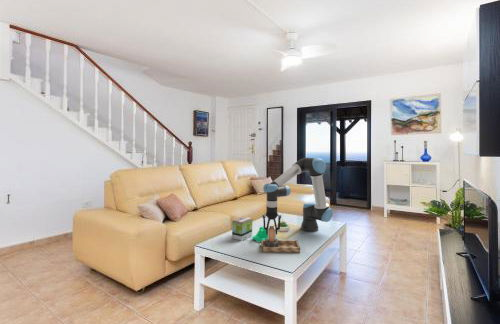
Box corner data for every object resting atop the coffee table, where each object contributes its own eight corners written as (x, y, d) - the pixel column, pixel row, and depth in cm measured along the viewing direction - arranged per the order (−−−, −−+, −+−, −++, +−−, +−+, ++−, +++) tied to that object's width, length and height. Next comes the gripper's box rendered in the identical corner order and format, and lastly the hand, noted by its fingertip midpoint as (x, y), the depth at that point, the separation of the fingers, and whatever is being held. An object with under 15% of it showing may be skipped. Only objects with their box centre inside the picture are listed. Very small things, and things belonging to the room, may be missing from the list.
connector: (274, 244, 186) (274, 225, 185) (274, 246, 182) (274, 227, 181) (268, 244, 186) (268, 225, 185) (268, 246, 182) (269, 227, 181)
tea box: (242, 241, 199) (242, 222, 198) (231, 238, 204) (231, 220, 203) (252, 235, 211) (252, 217, 211) (242, 233, 217) (242, 215, 216)
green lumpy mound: (251, 240, 201) (252, 227, 200) (257, 237, 207) (257, 224, 207) (265, 243, 194) (265, 230, 194) (270, 240, 201) (270, 227, 200)
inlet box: (296, 245, 191) (296, 237, 191) (300, 252, 177) (300, 244, 177) (261, 244, 191) (261, 237, 191) (261, 252, 177) (261, 244, 177)
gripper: (283, 205, 186) (283, 237, 187) (259, 205, 187) (259, 237, 188) (284, 207, 179) (284, 241, 180) (259, 207, 179) (259, 240, 180)
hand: (271, 238), depth 184 cm, fingers closed on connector, 4 cm apart
